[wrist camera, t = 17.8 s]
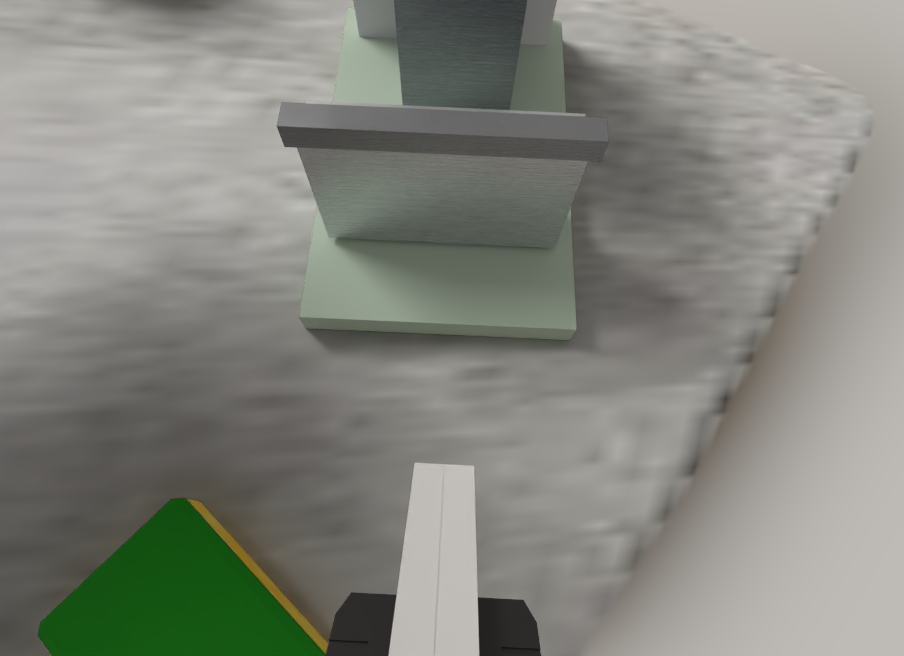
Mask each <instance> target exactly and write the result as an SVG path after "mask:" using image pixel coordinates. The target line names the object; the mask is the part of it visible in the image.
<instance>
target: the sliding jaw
mask: <svg viewBox="0 0 904 656" xmlns="http://www.w3.org/2000/svg"><path fill="white" fill-rule="evenodd" d="M277 128H278V131H279V133H280V136H281V138H282V141H283V144H284V146H285V147H297V149H298V152H299V155H300V158H301V160H302V163H303V166H304V169H305V172H306V175H307V177H308V180H309V183H310V186H311V189H312V192H313V194H314V197H315V200H316V203H317V206H318V209H319V211H320V214H321V217H322V220H323V223H324V226H325V228H326V231H327V234H328V237H329V238H351V239H372V240H394V241H416V242H438V243H459V244H481V245H503V246H524V247H546V248H555V247H556V245H557V242H558V239H559V237H560V234H561V232H562V229H563V226H564V224H565V221H566V219H567V216H568V213H569V211H570V208H571V205H572V203H573V200H574V198H575V195H576V192H577V190H578V187H579V185H580V182H581V179H582V177H583V174H584V172H585V169H586V166H587V164H588V161H597V162H601V160H602V157H603V155H604V152H605V150H606V147H607V145H608V143H609V136H608V124H607V118H605V117H586V115H585V114H580V113H558V112H537V111H516V110H495V109H474V108H452V107H431V106H410V105H389V104H368V103H346V102H325V101H305V103H287V102H281V107H280V112H279V117H278V122H277Z"/></svg>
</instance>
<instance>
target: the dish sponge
mask: <svg viewBox="0 0 904 656" xmlns="http://www.w3.org/2000/svg"><path fill="white" fill-rule="evenodd" d="M38 637H39V638H40V640H41V641H42V642H43V644H44V645H45V646H46V648H47V649H48V650H49V652H50V653H51V654H52V656H325V655H326V651H327V647H328V645H329V644H328V643H327V642H326V641H325V639H324V638H323V637H322V636H321V635H320V634H319V633H318V632H317V631H316V629H315V628H314V627H313V626H312V625H311V624H310V623H309V622H308V621H307V619H306V618H305V617H304V616H303V615H302V614H301V613H300V612H299V611H298V609H297V608H296V607H295V606H294V605H293V604H292V603H291V602H290V601H289V599H288V598H287V597H286V596H285V595H284V594H283V593H282V592H281V591H280V589H279V588H278V587H277V586H276V585H275V584H274V583H273V582H272V581H271V579H270V578H269V577H268V576H267V575H266V574H265V573H264V572H263V571H262V570H261V568H260V567H259V566H258V565H257V564H256V563H255V562H254V561H253V560H252V558H251V557H250V556H249V555H248V554H247V553H246V552H245V551H244V550H243V548H242V547H241V546H240V545H239V544H238V543H237V542H236V541H235V540H234V538H233V537H232V536H231V535H230V534H229V533H228V532H227V531H226V530H225V528H224V527H223V526H222V525H221V524H220V523H219V522H218V521H217V520H216V518H215V517H214V516H213V515H212V514H211V513H210V512H209V511H208V510H207V508H206V507H205V506H204V505H203V504H202V503H201V502H200V501H195V500H190V499H185V498H175V499H171V500H170V501H169V502H168V503H167V504H166V505H165V506H164V507H163V508H162V509H160V510H159V511H158V512H157V513H156V514H155V515H154V516H153V517H152V518H151V519H150V520H149V521H148V522H147V523H146V524H145V525H143V526H142V527H141V528H140V529H139V530H138V531H137V532H136V533H135V534H134V535H133V536H132V537H131V538H130V539H129V540H128V541H126V542H125V543H124V544H123V545H122V546H121V547H120V548H119V549H118V550H117V551H116V552H115V553H114V554H113V555H112V556H111V557H110V558H108V559H107V560H106V561H105V562H104V563H103V564H102V565H101V566H100V567H99V568H98V569H97V570H96V571H95V572H94V573H93V574H91V575H90V576H89V577H88V578H87V579H86V580H85V581H84V582H83V583H82V584H81V585H80V586H79V587H78V588H77V589H76V590H74V591H73V592H72V593H71V594H70V595H69V596H68V597H67V598H66V599H65V600H64V601H63V602H62V603H61V604H60V605H59V606H57V607H56V608H55V609H54V610H53V611H52V612H51V613H50V614H49V615H48V616H47V617H46V618H45V619H44V620H43V621H42V622H41V623H40V628H39V633H38Z"/></svg>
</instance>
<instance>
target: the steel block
mask: <svg viewBox="0 0 904 656" xmlns="http://www.w3.org/2000/svg"><path fill="white" fill-rule="evenodd" d="M526 6H527V0H394V8H395V20H396V32H397V44H398V57H399V69H400V81H401V93H402V105H410V106H431V107H452V108H474V109H495V110H510V106H511V99H512V93H513V87H514V81H515V74H516V68H517V62H518V56H519V49H520V43H521V37H522V31H523V24H524V18H525V12H526Z"/></svg>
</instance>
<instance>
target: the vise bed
mask: <svg viewBox="0 0 904 656" xmlns="http://www.w3.org/2000/svg"><path fill="white" fill-rule="evenodd" d="M353 1H354V8H348V9H347V15H346V22H345V28H344V34H343V41H342V47H341V53H340V60H339V66H338V72H337V79H336V85H335V91H334V98H333V102H346V103H368V104H389V105H402V93H401V81H400V69H399V57H398V44H397V32H396V20H395V8H394V0H353ZM556 2H557V0H527V6H526V12H525V18H524V24H523V31H522V37H521V43H520V49H519V56H518V62H517V68H516V74H515V81H514V87H513V93H512V99H511V106H510V110H516V111H537V112H558V113H566V102H565V81H564V61H563V40H562V19H561V18H553V16H554V11H555V6H556ZM299 318H300V320H301V321H302V323H303V325H304V326H305V328H312V329H334V330H356V331H379V332H401V333H423V334H445V335H467V336H489V337H511V338H533V339H555V340H570V339H571V338H572V336H573V335H574V333H575V331H576V330H577V328H576V307H575V286H574V266H573V245H572V225H571V208H570V211H569V213H568V216H567V219H566V221H565V224H564V226H563V229H562V232H561V234H560V237H559V239H558V242H557V245H556V247H555V248H546V247H524V246H503V245H481V244H459V243H438V242H416V241H394V240H372V239H351V238H329V237H328V234H327V231H326V228H325V226H324V223H323V220H322V217H321V214H320V211H319V209H318V206H317V205H316V211H315V218H314V224H313V230H312V237H311V243H310V249H309V256H308V262H307V268H306V275H305V281H304V287H303V294H302V300H301V306H300V313H299Z"/></svg>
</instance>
